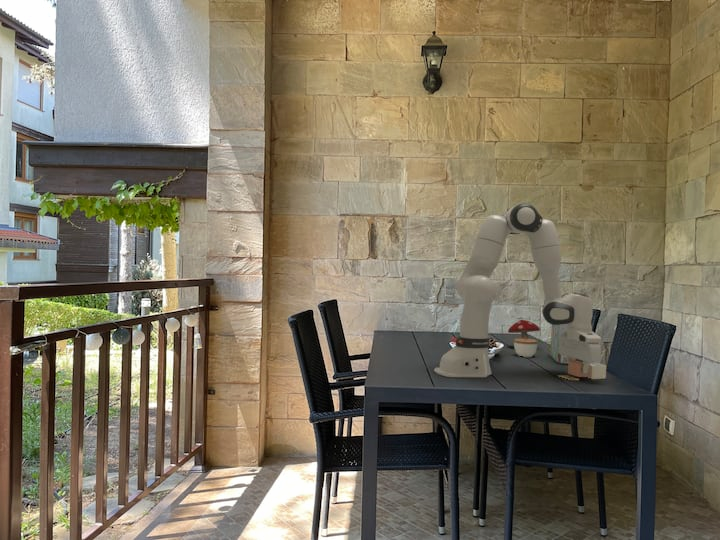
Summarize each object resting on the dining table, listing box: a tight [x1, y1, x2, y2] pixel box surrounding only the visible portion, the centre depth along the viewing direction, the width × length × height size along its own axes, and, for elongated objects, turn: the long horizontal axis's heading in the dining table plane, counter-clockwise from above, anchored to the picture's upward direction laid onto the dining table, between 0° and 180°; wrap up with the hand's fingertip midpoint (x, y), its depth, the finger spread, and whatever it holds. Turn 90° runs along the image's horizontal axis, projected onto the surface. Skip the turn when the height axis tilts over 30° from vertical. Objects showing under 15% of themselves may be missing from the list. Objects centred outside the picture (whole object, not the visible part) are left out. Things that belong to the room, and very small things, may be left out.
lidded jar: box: [513, 337, 538, 358], centre depth 247 cm, size 11×11×9 cm
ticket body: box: [587, 363, 607, 380], centre depth 202 cm, size 6×6×5 cm
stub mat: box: [558, 374, 580, 381], centre depth 199 cm, size 4×7×1 cm, turn 16°
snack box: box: [550, 324, 577, 365], centre depth 238 cm, size 22×9×26 cm, turn 168°
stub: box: [567, 360, 587, 378], centre depth 200 cm, size 4×6×5 cm, turn 16°
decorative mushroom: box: [507, 319, 541, 339], centre depth 270 cm, size 16×16×15 cm
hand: (577, 370), depth 200 cm, fingers closed on stub, 6 cm apart
